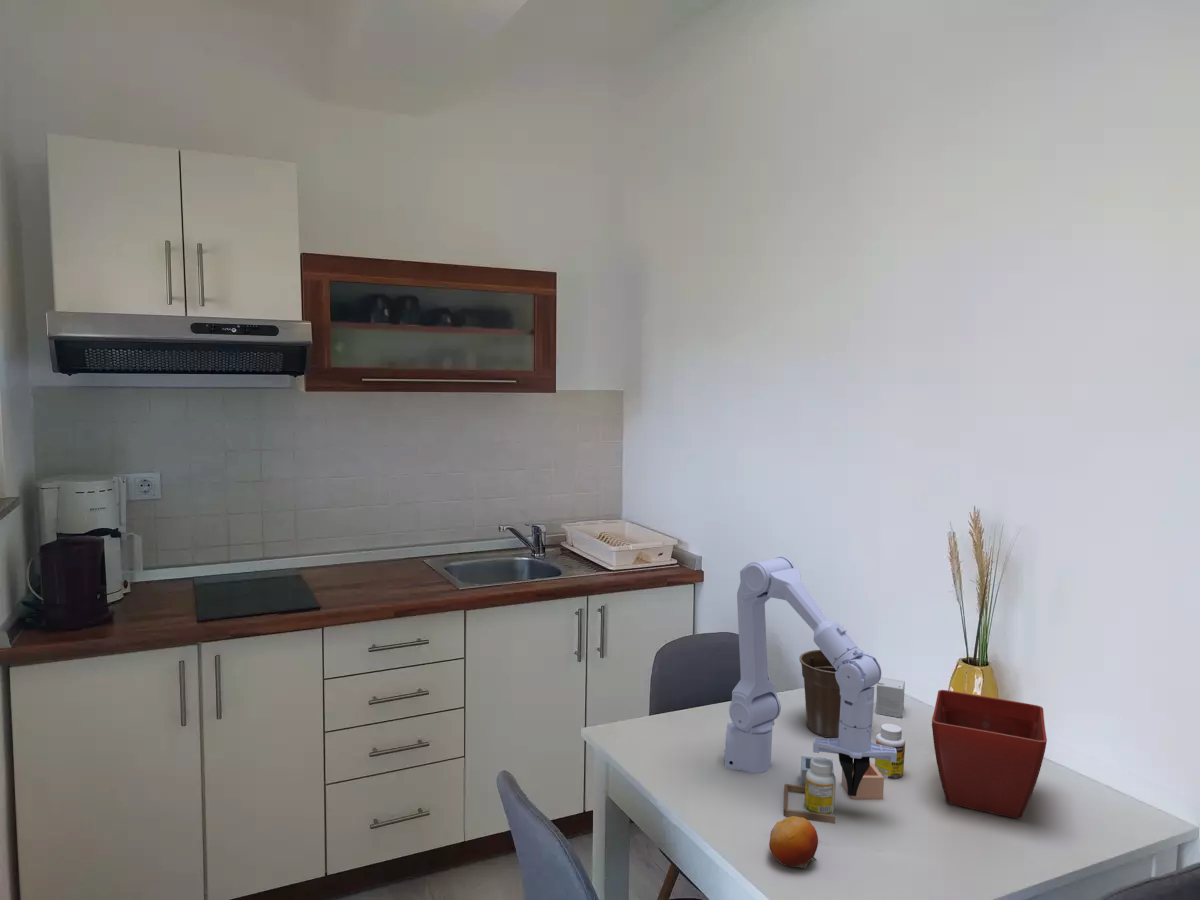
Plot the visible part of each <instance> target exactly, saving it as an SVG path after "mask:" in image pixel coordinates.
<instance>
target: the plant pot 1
mask: <svg viewBox="0 0 1200 900" xmlns="http://www.w3.org/2000/svg"><path fill="white" fill-rule="evenodd" d="M798 660H799V662H800V664H801V672H802V673H801V675H802V677H803V683H804V684H803V685H804V700H805V701H804V702H805V718H806V726H807V727H808V729H809V730H810V732H812V733H814V734H815V735H818V736H821V737H824V738H839V721H840V703H841V695H840V687H839V685H838V683H837V681H836V677H835V672H837V671H836V669H835V668H834V667H833V666H832V664H831V663H830V662H829V660H828V659H827V658H826V656H825V655H824V654H823V653H822V651H821V650H820V649H815V650H809V651H808V650H807V651H804V652H803V653H801V654H800V655H799V659H798Z"/></svg>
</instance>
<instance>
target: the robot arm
mask: <svg viewBox="0 0 1200 900" xmlns="http://www.w3.org/2000/svg"><path fill="white" fill-rule="evenodd" d="M739 580H740V582H739V586H738V588H737V592H736V603H737V606H736V607H737V622H738V623H737V624H738V625H737V626H738V627H737V628H738V646H739V647H738V648H739V666H740V667H739V669H740V670H739V671H740V680H739V681H738V682H737V684H736V685H735V687H734V688H733V690H732V691H731V701H730V704H729V709H728V712H729V716H730V717H729V718H730V720H731V722H728V723H727V724H726V731H725V732H726V734H725V749H724V751H723V752H724V754H723V759H724V769H728V770H729V769H730V770H738V771H741V772H746V773H751V774H763V773H766V772H769V771H770V770H771V766H772V741H773V726H775V720H776V719H778V717H779V716H780V714H781V709H782V707H781V706H782V705H781V701H780V699H779V697H778V694H777V686H776V685H775V684H774V683H773V682H772V681H771V680H770V679H769V671H768V670H769V668H768V651H767V650H768V647H767V646H768V645H767V625H766V623H767V622H766V602H767V601H768V600H770V599H778V600H783V601H786V602H787V603H788V604H789V605H790V606H791V607H792V609H794V611H795V612H796V613H797V614H798V616H799V617H801V619H802V620H803V621H804V622H805V624H807V625H808V626H809V628H810V629H811V630H812V631H813V643H814V644H815V645H816V646H817V647H818V650H821V651H822V653H823V654H824V655H825V656H826V658H827V659H828V660H829V662H830V663H831V664H832V666H833V667H834V668H835V669H836V671H837V672H835V677H836V681H837V683H838V685H839V687H840V695H841V703H840V721H839V738H829V737H827V738H815V737H813V742H812V752H813V754H814V753H815V754H818V753H820V752H821V753H829V754H838V761H839V765H840V767H841V770H842V769H843V772H844V775H845V778H846V781H847V791H848V793H847V796H849V795H850V796H856V793H857V790H858V787H859V784H860V782H861V779H862V778H863V776H864V774H865V773H866V771H867V770H868V768H869V766H870V763H871V762H870V759H875V758H876V759H884V760H890V762H895V763H896V758H897V751H896V748H893V747H887V746H883V745H879V744H876V742H872V735H873V734H872V732H873V718H874V717H873V716H874V701H875V685H877V684H878V682H879V681H880V679H881V677H882V668H881V665H880V663H879V662H878V660H877V658H876V657H875V656H874V655H872V654H869V653H867V652H864V650H863V649H861V648H859V647H858V646H857V644H856V643H855V642H854V641H853V639H852V638H851V637H850V636H849V634H848V633H847V629H846V627H844V625H841V624H840V623H839V622H835V621H831V620H829V619H828V618H827V616H826V615H825V613H824V612H823V611H822V608H820V606H819V605H818V603H817V602H816V600H815V599H814V597H813V596H812V595H811V594H810V592H809V590H808V589H807V588H806V586H805V585H804V583H803V581H802V578H801V572H800V571H799V569H797V567H795V565H794V563H793V562H792V561H791V560H790V559H789V558H788V557H785V556H778V557H775V558H772V559H764V560H759V561H751V562H749V563H748V564H746V565H745V566H744V567H743V568H742V569H741V570H740V571H739ZM730 762H732V763H730ZM853 763H854V764H853ZM852 776H853V778H852ZM847 791H846V792H847ZM850 796H849V797H850Z"/></svg>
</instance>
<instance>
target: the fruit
mask: <svg viewBox="0 0 1200 900" xmlns="http://www.w3.org/2000/svg"><path fill="white" fill-rule="evenodd" d="M810 821H811V820H807V819H805V818H800V817H796V816H791V817H785V818H783V819H782V820H779V821H776V823H775V824H774V826H773V827H772V828H771V831H770V833H769V834H770V835H769V836H770V837H769V843H768V845H769V846H768V847H769V850H770V853H771V854H772V856H774V858H775V859H776V860H777V861H778V862H780V864H782V865H784V866H787V867H790V868H801V869H805V870H807V866H808V864H809V863H810V861H812V859H813V860H815V861H817V859H816V858H815V856H816V855H815V854H816V852H817V851H818V845H819V836H818V833H817V829H816V827H815V826H814V825H813V824H812V823H811V822H810Z"/></svg>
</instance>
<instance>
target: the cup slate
mask: <svg viewBox="0 0 1200 900" xmlns="http://www.w3.org/2000/svg"><path fill="white" fill-rule="evenodd" d="M812 758H814V756H813V757H812V756H807V755H806V756H804V755H801V757H800V759H801V760H800V785H801V786H805V785H806V773H807V771H808V770H809V769H811V768H810V761H811V759H812ZM828 759H829V760H830V761H831V762H832V763H833V764H834V761H833V759H830V758H828ZM832 773H833V774H834V775H835V771H834V767H833V770H832Z"/></svg>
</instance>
